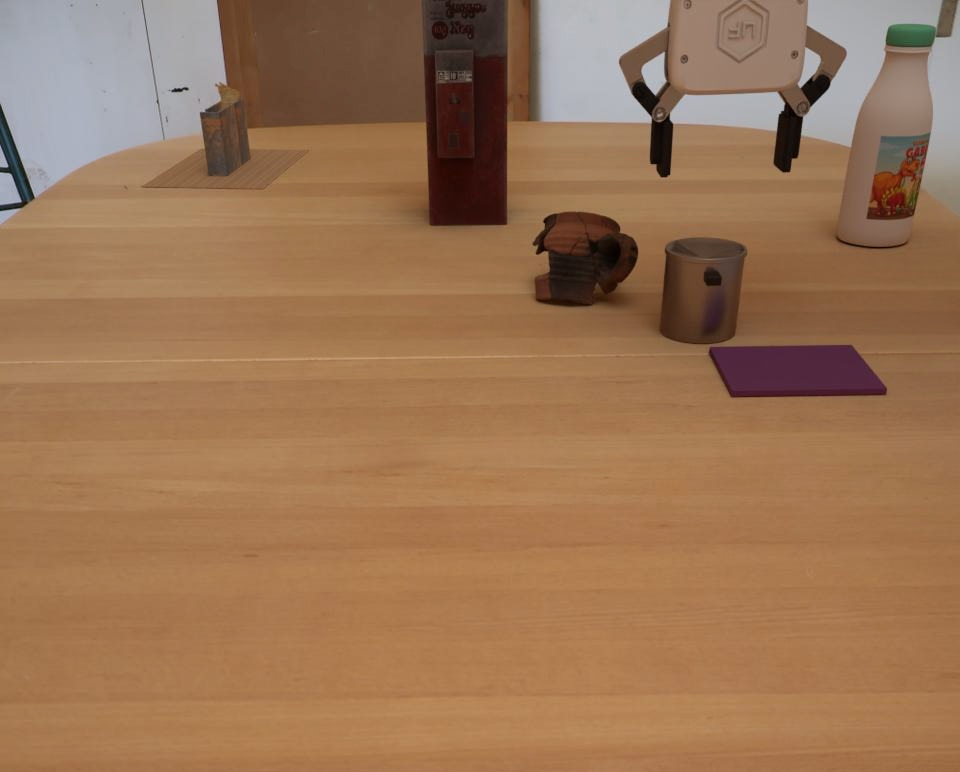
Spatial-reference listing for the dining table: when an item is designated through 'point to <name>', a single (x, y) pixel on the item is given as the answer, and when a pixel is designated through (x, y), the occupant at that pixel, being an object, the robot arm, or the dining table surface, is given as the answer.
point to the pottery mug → (583, 256)
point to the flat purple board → (795, 371)
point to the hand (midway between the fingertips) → (722, 171)
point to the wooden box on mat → (227, 152)
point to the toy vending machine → (466, 110)
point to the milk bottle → (890, 144)
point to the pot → (701, 289)
